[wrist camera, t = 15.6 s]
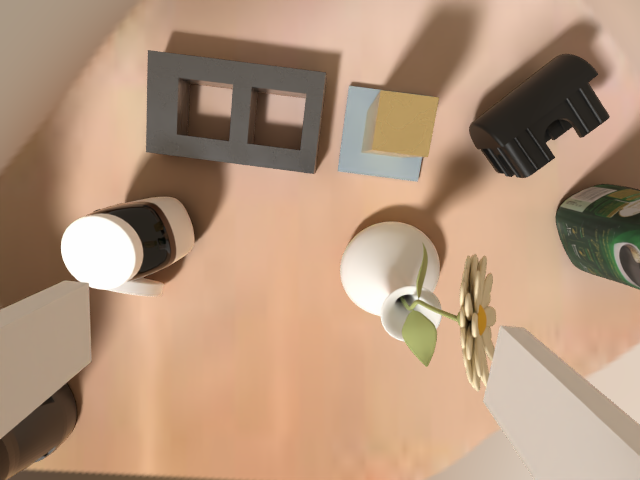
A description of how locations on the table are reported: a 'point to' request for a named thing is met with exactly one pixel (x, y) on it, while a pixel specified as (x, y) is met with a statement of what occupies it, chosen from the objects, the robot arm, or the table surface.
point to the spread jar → (128, 244)
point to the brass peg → (399, 125)
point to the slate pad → (353, 140)
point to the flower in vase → (418, 293)
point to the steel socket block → (246, 81)
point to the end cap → (539, 116)
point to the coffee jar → (603, 232)
